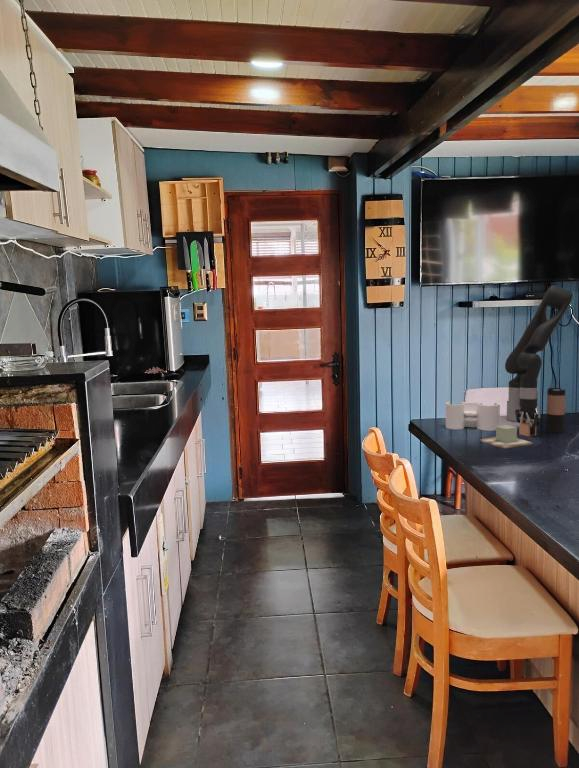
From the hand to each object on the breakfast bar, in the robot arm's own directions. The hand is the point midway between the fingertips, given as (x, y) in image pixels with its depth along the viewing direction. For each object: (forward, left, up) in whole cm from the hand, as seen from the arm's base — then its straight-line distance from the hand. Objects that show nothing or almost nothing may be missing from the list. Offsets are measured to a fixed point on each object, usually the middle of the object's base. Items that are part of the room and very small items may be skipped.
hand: (527, 433), depth 260 cm
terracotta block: (0, 0, 0) cm, 0 cm away
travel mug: (+2, +14, -1) cm, 14 cm away
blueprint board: (+7, -19, 0) cm, 20 cm away
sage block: (+7, -19, 0) cm, 20 cm away
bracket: (-23, -12, -1) cm, 26 cm away
